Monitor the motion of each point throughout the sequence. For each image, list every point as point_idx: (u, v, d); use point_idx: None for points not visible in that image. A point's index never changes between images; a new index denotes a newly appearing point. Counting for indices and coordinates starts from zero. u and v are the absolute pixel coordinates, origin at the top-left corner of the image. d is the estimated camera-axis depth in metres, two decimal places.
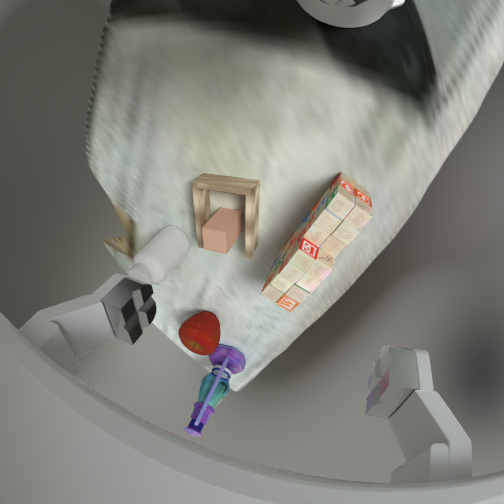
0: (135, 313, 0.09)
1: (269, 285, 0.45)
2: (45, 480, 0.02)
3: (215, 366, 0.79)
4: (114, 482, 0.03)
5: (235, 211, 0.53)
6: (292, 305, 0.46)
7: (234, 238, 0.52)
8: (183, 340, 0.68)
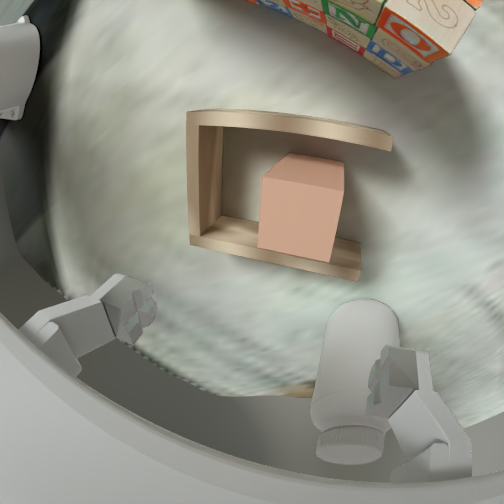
0: (135, 313, 0.09)
1: (390, 4, 0.06)
2: (45, 480, 0.02)
3: None
4: (114, 481, 0.03)
5: None
6: None
7: (331, 171, 0.17)
8: None
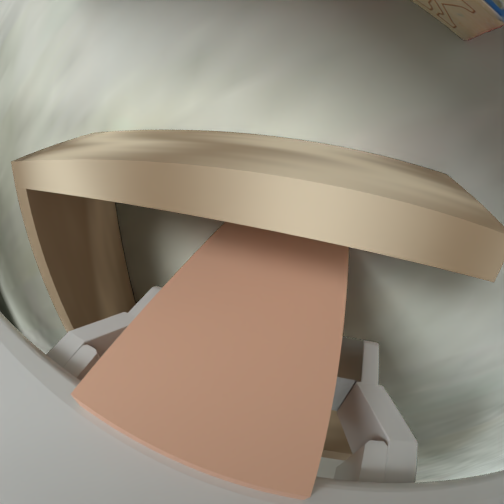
0: None
1: None
2: (45, 480, 0.02)
3: None
4: (114, 482, 0.03)
5: None
6: None
7: (308, 321, 0.06)
8: None
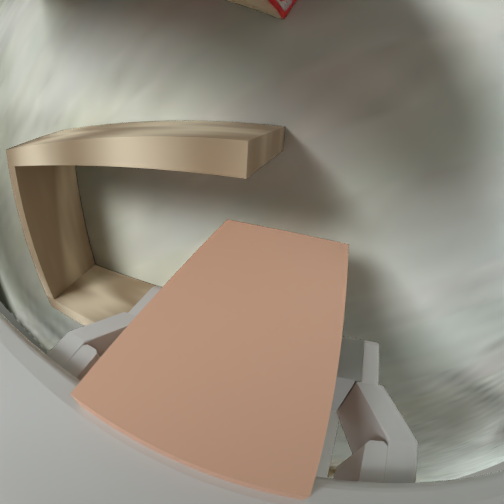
0: None
1: None
2: (45, 480, 0.02)
3: None
4: (114, 482, 0.03)
5: None
6: None
7: (307, 321, 0.06)
8: None
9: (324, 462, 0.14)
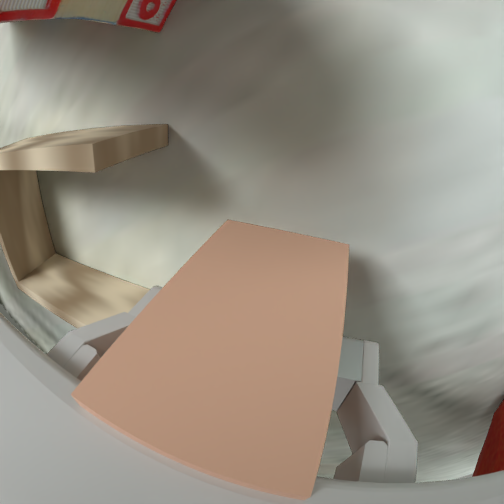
0: None
1: None
2: (45, 480, 0.02)
3: None
4: (114, 482, 0.03)
5: None
6: None
7: (308, 321, 0.06)
8: None
9: None
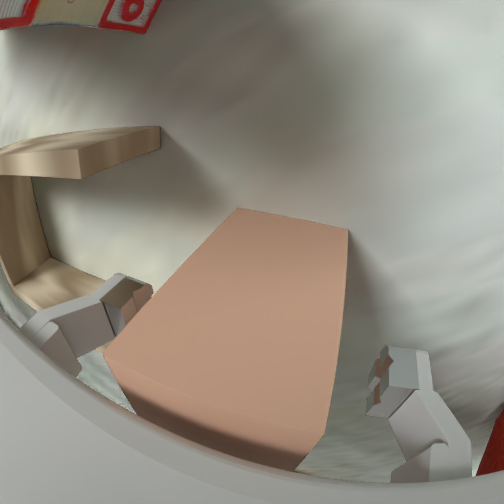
0: (135, 313, 0.09)
1: None
2: (45, 480, 0.02)
3: None
4: (114, 482, 0.03)
5: None
6: None
7: (313, 289, 0.07)
8: None
9: None
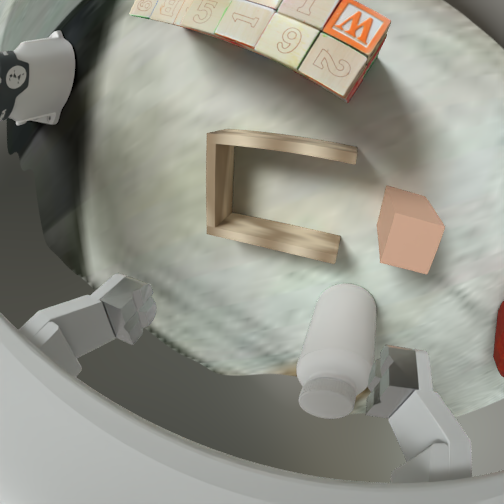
0: (135, 313, 0.09)
1: (301, 68, 0.13)
2: (45, 480, 0.02)
3: None
4: (114, 482, 0.03)
5: (384, 197, 0.26)
6: (362, 14, 0.10)
7: (426, 207, 0.21)
8: None
9: (373, 326, 0.28)
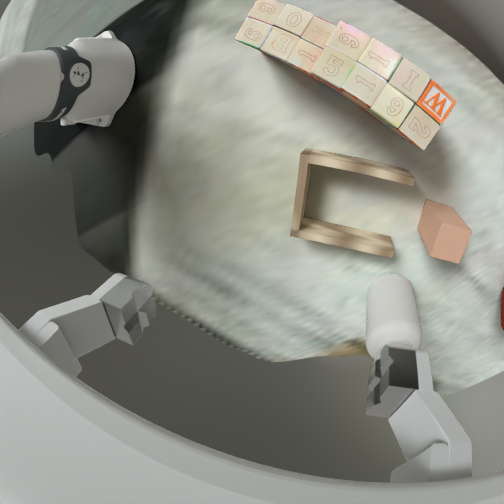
0: (135, 313, 0.09)
1: (401, 128, 0.20)
2: (45, 480, 0.02)
3: None
4: (114, 482, 0.03)
5: (424, 208, 0.33)
6: (440, 94, 0.17)
7: (456, 216, 0.28)
8: None
9: None
